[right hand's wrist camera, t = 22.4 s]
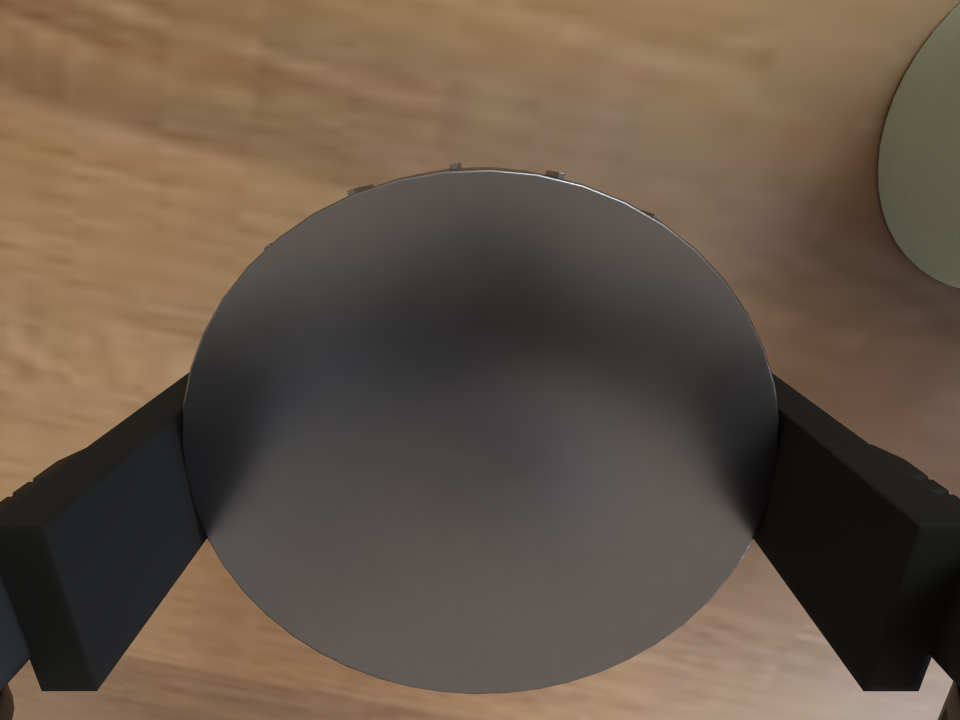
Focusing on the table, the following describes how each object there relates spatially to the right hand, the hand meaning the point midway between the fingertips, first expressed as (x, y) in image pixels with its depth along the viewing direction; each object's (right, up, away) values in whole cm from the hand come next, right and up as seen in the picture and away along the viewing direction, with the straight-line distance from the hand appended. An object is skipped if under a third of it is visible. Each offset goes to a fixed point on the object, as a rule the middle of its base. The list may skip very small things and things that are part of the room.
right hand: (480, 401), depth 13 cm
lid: (0, -1, -3) cm, 3 cm away
